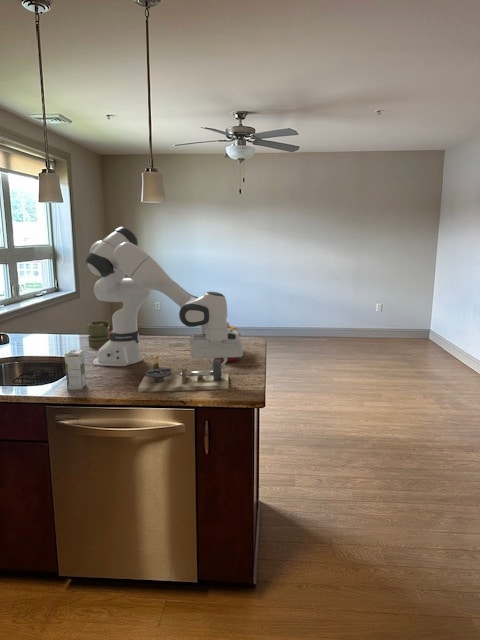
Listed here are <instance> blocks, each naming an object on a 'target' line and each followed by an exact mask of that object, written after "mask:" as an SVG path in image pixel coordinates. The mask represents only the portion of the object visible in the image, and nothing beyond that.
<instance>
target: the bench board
mask: <svg viewBox="0 0 480 640" xmlns="http://www.w3.org/2000/svg"><path fill="white" fill-rule="evenodd" d="M137 390H138V391H137V392H139V393H141V392H169V391H170V392H171V391H175V392H176V391H201V390H202V391H203V390H229V373H223V375H221V380H214V378H213V376H188V377H187V382H186V384H182V377H181V376H180V374H171V375H169V376H167V377H162V378H150V377H147V376H146V375H144V377H143V378H142V380H141V382H140V384H139V385H138V388H137Z"/></svg>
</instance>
